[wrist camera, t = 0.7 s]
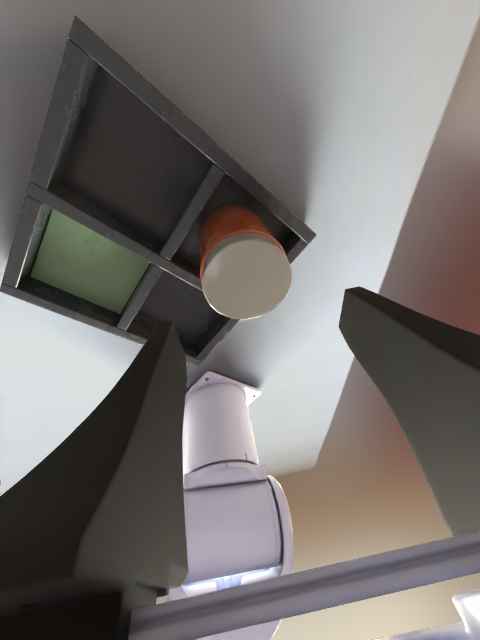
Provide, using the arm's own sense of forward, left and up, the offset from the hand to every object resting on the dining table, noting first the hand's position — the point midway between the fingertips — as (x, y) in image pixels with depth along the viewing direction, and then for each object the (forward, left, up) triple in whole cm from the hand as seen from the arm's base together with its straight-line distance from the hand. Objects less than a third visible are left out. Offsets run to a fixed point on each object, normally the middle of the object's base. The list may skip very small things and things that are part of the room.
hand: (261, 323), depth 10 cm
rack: (-4, +4, -10) cm, 11 cm away
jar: (0, 0, -10) cm, 10 cm away
